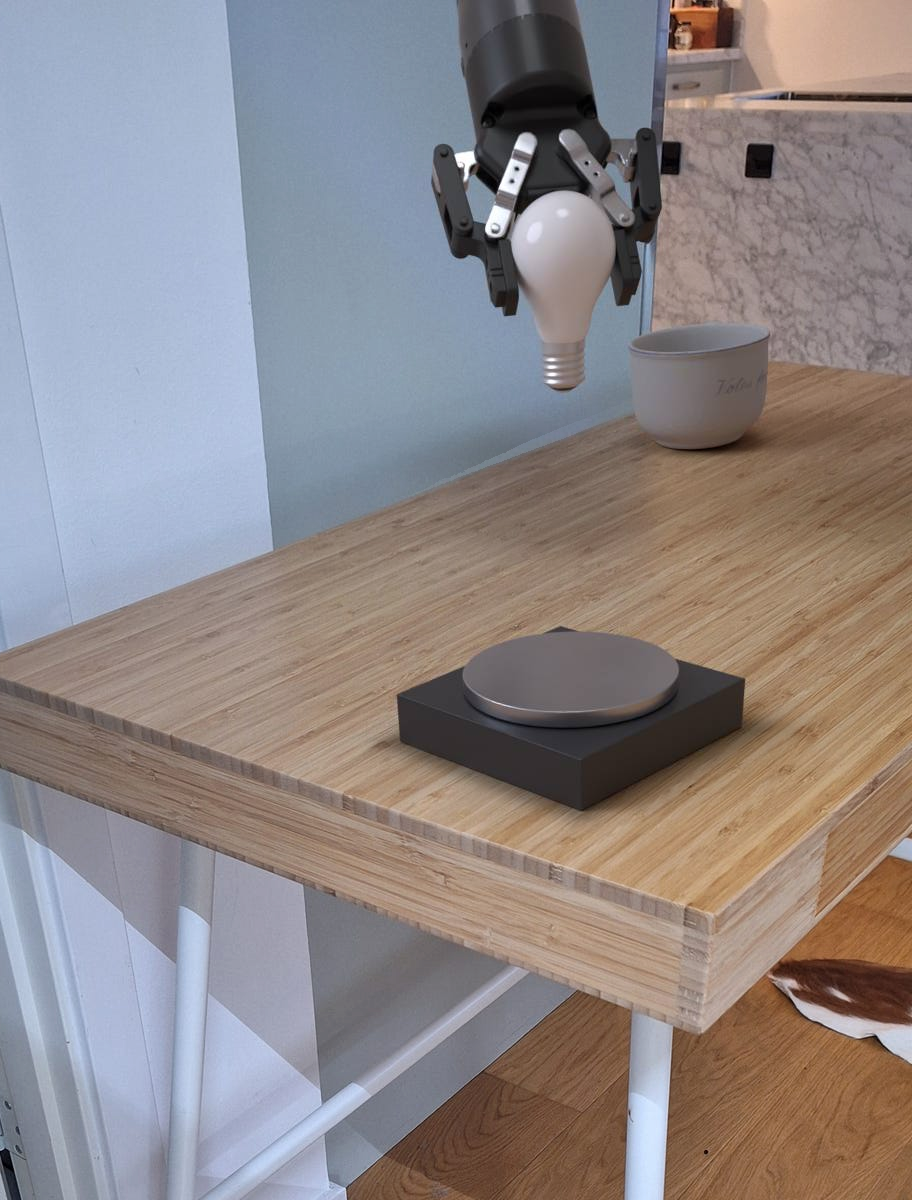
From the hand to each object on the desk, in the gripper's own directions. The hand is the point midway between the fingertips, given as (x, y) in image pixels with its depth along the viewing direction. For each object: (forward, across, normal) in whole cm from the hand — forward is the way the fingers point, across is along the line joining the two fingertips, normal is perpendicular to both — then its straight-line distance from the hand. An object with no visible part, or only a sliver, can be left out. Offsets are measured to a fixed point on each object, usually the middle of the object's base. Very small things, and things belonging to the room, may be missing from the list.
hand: (569, 301), depth 88 cm
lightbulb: (+3, 0, +5) cm, 6 cm away
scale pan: (+29, -7, -11) cm, 32 cm away
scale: (+31, -7, -10) cm, 33 cm away
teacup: (-8, +17, +29) cm, 35 cm away
